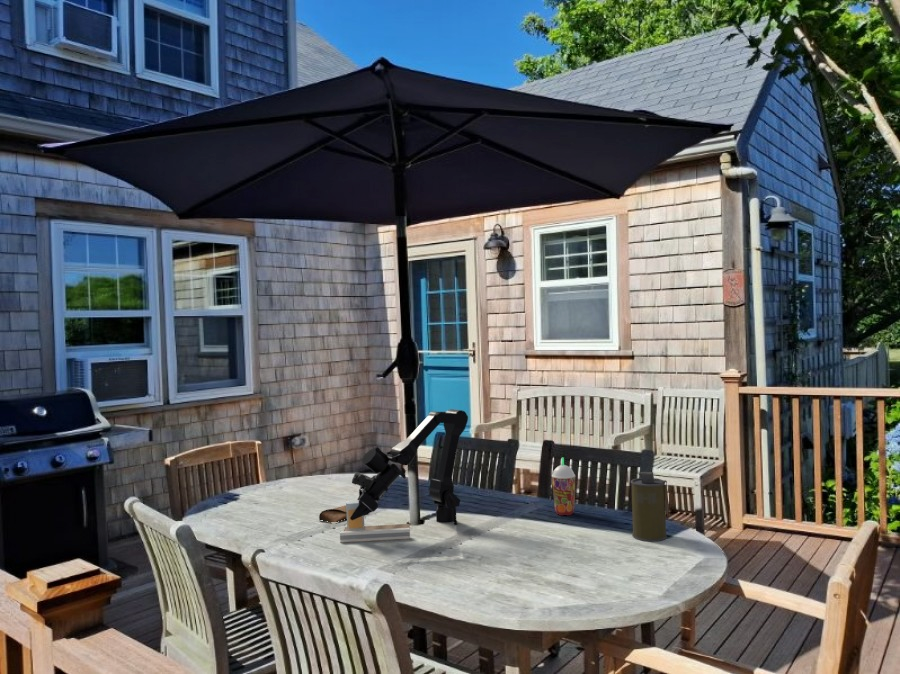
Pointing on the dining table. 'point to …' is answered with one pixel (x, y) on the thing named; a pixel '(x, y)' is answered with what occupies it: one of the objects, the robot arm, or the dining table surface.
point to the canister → (649, 507)
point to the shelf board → (382, 528)
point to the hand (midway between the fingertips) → (351, 515)
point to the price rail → (375, 535)
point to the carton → (357, 523)
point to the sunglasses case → (334, 514)
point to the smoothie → (563, 489)
